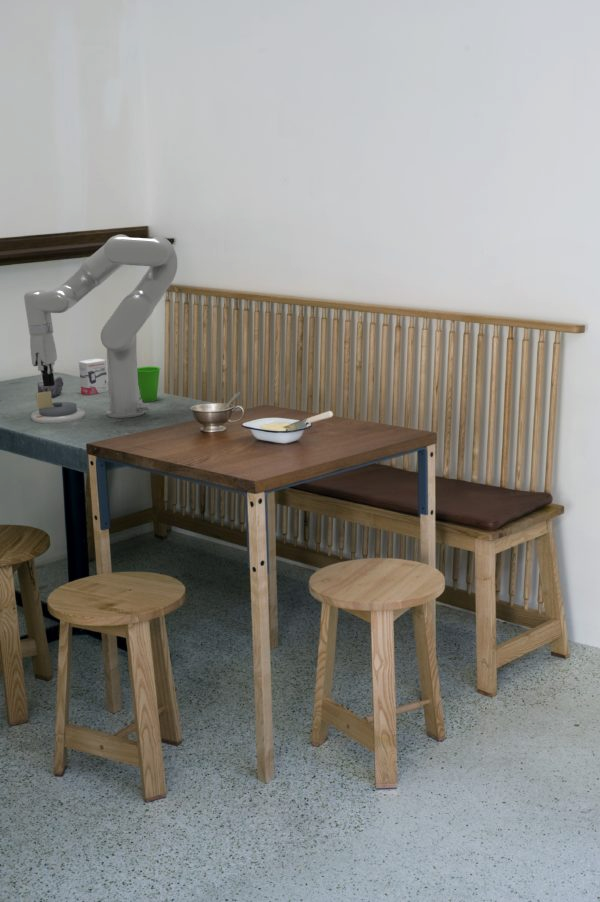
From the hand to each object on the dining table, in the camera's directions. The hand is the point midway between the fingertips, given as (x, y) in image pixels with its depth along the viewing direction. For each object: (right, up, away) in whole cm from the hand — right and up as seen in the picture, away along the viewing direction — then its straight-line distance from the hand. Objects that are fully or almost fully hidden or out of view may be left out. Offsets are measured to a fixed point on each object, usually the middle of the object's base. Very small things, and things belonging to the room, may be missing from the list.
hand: (49, 385), depth 357 cm
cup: (+29, -4, +23) cm, 38 cm away
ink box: (+8, -1, +38) cm, 39 cm away
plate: (+3, -10, 0) cm, 11 cm away
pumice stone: (-8, -2, +35) cm, 36 cm away
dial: (+3, -9, 0) cm, 9 cm away
